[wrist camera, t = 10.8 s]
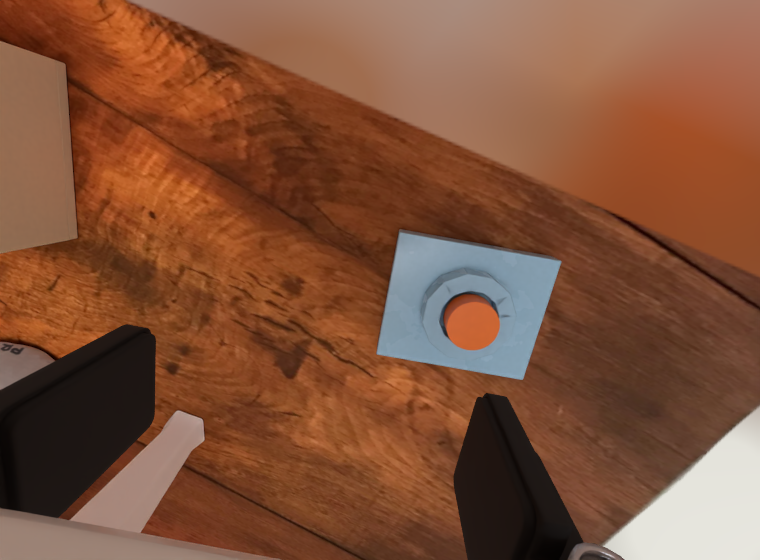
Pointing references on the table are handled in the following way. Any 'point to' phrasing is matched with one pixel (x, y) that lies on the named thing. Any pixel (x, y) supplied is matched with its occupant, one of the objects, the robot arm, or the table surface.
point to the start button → (471, 322)
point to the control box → (458, 277)
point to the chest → (34, 152)
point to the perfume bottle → (144, 478)
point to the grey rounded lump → (20, 362)
